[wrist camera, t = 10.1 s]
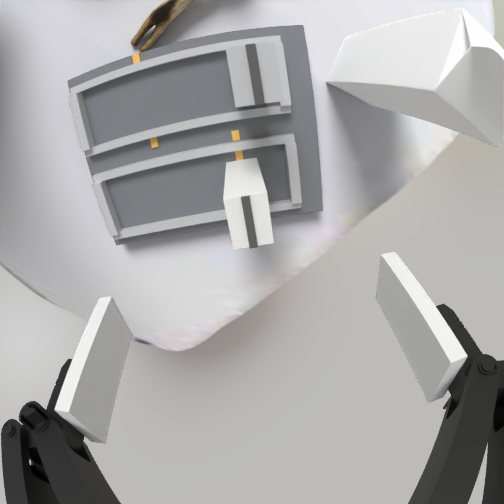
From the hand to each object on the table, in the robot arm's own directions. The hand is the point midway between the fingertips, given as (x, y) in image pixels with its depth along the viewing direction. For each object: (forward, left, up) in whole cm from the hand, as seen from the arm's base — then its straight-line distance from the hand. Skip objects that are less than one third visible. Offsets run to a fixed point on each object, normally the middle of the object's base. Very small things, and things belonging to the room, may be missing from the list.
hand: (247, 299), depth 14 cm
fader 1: (+2, +10, -19) cm, 21 cm away
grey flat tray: (-4, +5, -21) cm, 22 cm away
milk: (+14, +10, -21) cm, 27 cm away
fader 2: (+1, 0, -19) cm, 19 cm away
